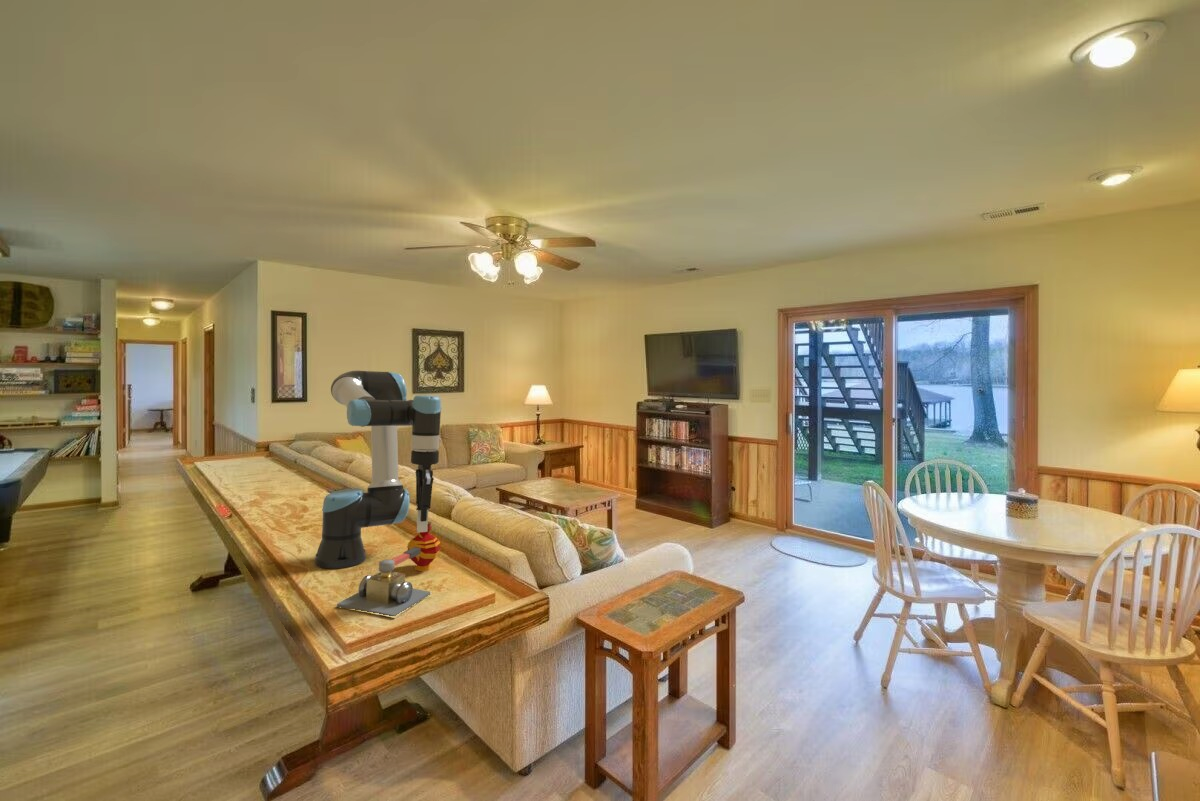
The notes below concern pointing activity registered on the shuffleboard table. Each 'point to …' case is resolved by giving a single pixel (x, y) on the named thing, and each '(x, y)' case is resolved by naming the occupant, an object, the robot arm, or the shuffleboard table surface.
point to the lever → (398, 559)
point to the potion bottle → (425, 549)
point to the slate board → (390, 609)
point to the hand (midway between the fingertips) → (422, 531)
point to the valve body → (386, 588)
